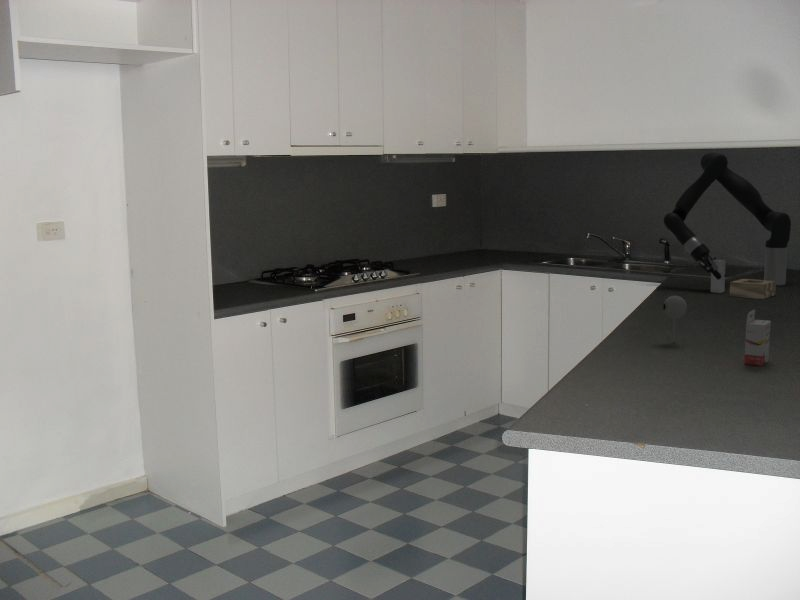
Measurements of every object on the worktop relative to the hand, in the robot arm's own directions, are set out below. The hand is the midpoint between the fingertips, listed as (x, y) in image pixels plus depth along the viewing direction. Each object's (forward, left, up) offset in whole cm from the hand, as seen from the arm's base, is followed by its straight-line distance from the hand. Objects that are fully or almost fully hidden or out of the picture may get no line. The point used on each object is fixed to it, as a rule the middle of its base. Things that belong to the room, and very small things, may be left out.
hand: (722, 277), depth 386 cm
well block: (+2, +14, -6) cm, 16 cm away
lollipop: (+115, +32, -7) cm, 120 cm away
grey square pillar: (0, -2, -6) cm, 7 cm away
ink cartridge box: (+128, +63, -7) cm, 143 cm away
